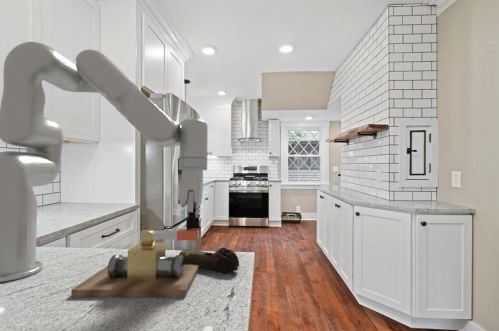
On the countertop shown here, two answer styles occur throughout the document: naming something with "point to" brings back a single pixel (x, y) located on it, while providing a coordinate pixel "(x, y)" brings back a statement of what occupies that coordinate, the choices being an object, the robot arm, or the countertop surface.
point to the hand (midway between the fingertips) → (192, 232)
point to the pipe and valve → (145, 264)
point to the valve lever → (168, 235)
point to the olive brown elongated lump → (212, 259)
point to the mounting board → (136, 285)
